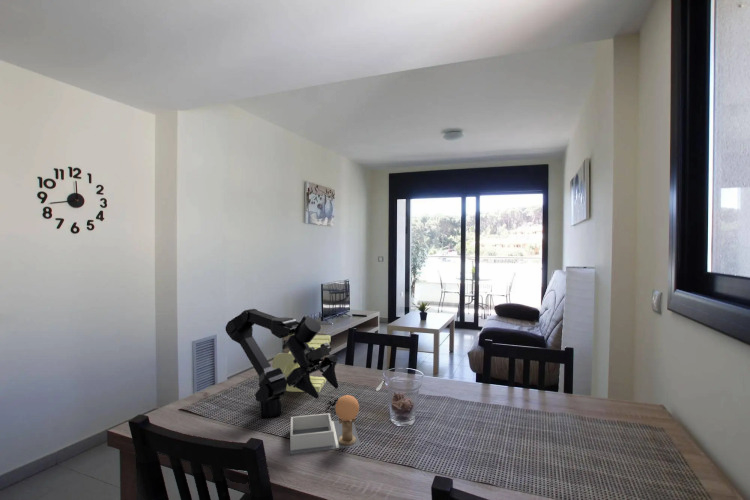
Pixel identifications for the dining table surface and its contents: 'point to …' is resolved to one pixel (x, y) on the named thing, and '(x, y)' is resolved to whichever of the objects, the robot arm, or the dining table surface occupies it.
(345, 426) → the ball tee
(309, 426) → the tray
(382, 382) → the fork
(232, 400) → the dining table surface
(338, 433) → the grey flat plate
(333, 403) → the creature
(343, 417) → the ball
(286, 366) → the slatted curved stool
